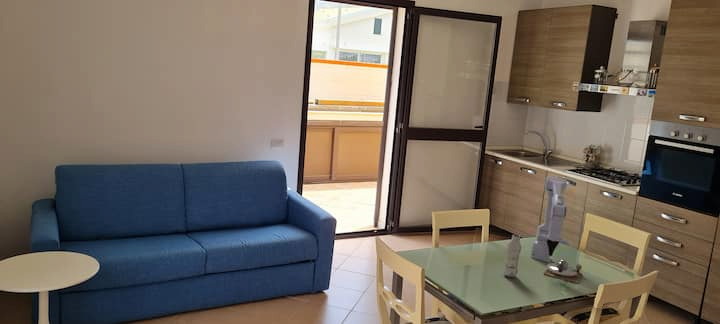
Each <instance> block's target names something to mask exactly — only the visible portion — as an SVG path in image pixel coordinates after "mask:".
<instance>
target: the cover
mask: <svg viewBox="0 0 720 324" xmlns="http://www.w3.org/2000/svg"><path fill="white" fill-rule="evenodd" d="M556 263H557V268H558V269H559V263H563V264H564V266H563V270H567V267H568V266H569V263H568V262H567V260H565V259H560V260H558V261H557V262H556Z"/></svg>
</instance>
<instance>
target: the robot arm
mask: <svg viewBox="0 0 720 324" xmlns="http://www.w3.org/2000/svg"><path fill="white" fill-rule="evenodd" d="M567 182H568V181H567V178H560V177H553V176H549V175H548V176H546V178H545V183H544V192H545V193H547V201H546V208H545V213H544V214H545V215H544V221H543V222H544V223H542V224H540V225H538V227H537V230H536V233H535V239H536V240H533V244H532V248H531V254H530V258H531V259H535V260H539V261H543V262H547V263H550V262H551V260H552V257H553V254H554V252H555V250H556V249H557V246H559V244H562V245H566V246H570V241H571V240H568V239H565V238H562V237H561V235H562V229H563V224H564V219H565V218H566V215H567V212H568V209H567V205H566V204H565V197H564V196H563V195H562V194H563V193H564V191H565V190H566V188H567V185H568V184H567Z"/></svg>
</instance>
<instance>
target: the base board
mask: <svg viewBox="0 0 720 324" xmlns="http://www.w3.org/2000/svg"><path fill="white" fill-rule="evenodd" d="M582 268H583V266H582V265H581V264H579V263H578V264H576V265H575V269H576V270H577V275H576V276H575V277H563V276H558V275H555V274H553V273H551V272H549V271H548V270H547V268H546V269H545V271H544V272H543V275H544V276H548V277H551V278H554V279H558V280H561V281H565V282H569V283H573V284H577V285H578V284H579V282H580V280H581V278H582V276H583V272H580V271H581V270H582Z"/></svg>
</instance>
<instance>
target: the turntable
mask: <svg viewBox="0 0 720 324" xmlns="http://www.w3.org/2000/svg"><path fill="white" fill-rule="evenodd" d="M563 266H564V264H563V263H559V269H558V268H557V262H548V264H547V265H546V269H547V270H548V271H549V272H551V273H553V274H555V275H558V276H563V277H575V276H576V275H577V269H576V268H575V267H573V266H570V265H568V267H567V270H563Z"/></svg>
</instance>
